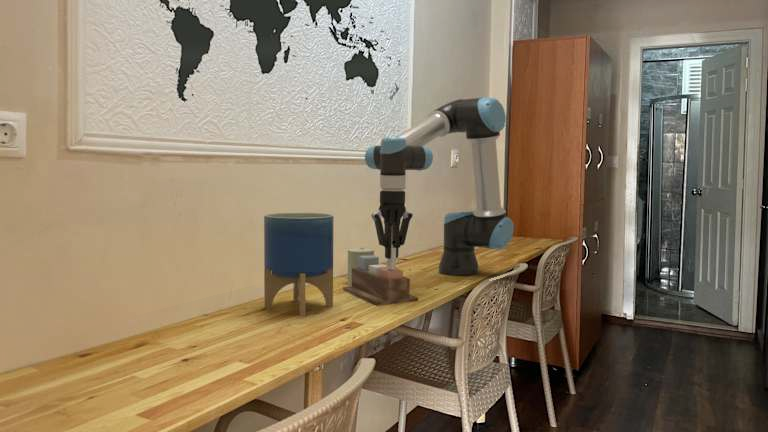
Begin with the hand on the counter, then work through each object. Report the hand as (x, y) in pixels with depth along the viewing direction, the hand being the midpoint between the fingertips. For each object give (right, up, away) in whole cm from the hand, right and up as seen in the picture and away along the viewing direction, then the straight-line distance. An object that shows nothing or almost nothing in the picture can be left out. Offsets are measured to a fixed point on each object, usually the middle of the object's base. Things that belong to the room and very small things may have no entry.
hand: (391, 269), depth 184 cm
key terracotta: (0, -7, +1) cm, 7 cm away
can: (-10, -7, +27) cm, 30 cm away
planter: (-26, -10, -9) cm, 30 cm away
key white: (-4, -6, +8) cm, 10 cm away
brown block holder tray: (-4, -9, +8) cm, 12 cm away
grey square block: (-7, -4, +15) cm, 17 cm away
